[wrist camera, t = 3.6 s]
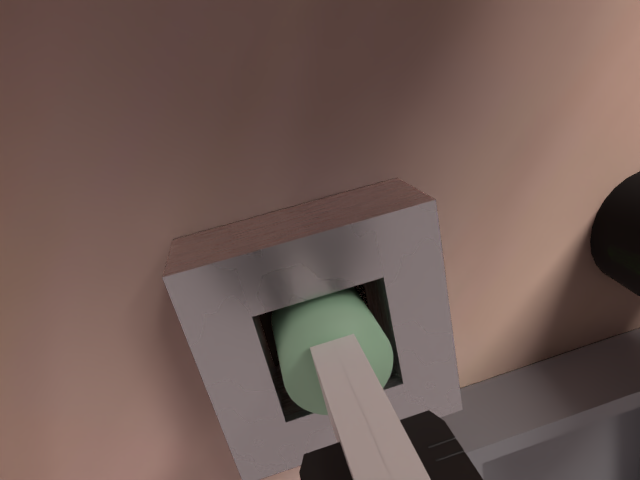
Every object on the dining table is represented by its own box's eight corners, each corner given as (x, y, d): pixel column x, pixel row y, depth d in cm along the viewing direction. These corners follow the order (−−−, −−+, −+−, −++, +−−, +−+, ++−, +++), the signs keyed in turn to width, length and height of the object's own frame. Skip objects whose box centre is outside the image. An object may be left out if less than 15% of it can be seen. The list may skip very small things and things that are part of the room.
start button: (260, 289, 17) (269, 338, 14) (354, 262, 18) (383, 303, 15) (284, 368, 19) (297, 429, 16) (370, 341, 19) (401, 394, 16)
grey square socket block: (172, 239, 17) (162, 277, 14) (397, 177, 18) (435, 199, 15) (239, 420, 20) (243, 484, 17) (426, 359, 21) (462, 409, 18)
